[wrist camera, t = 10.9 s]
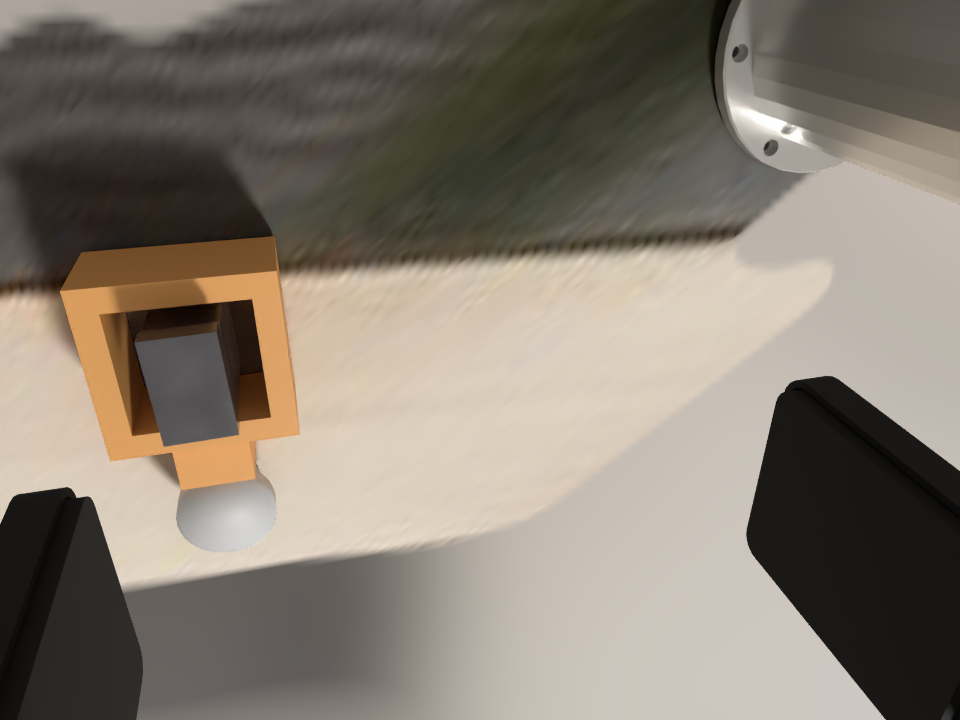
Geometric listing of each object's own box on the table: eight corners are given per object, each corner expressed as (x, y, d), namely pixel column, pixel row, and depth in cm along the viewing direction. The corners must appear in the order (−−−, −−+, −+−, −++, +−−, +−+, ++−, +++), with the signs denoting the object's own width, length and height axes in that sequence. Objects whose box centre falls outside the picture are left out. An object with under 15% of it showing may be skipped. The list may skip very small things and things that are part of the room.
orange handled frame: (81, 252, 34) (59, 291, 31) (274, 236, 36) (276, 271, 33) (156, 528, 43) (147, 586, 39) (311, 503, 44) (316, 556, 41)
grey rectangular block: (222, 273, 37) (216, 331, 31) (241, 365, 39) (239, 434, 34) (152, 280, 36) (134, 342, 30) (176, 374, 38) (163, 446, 33)
